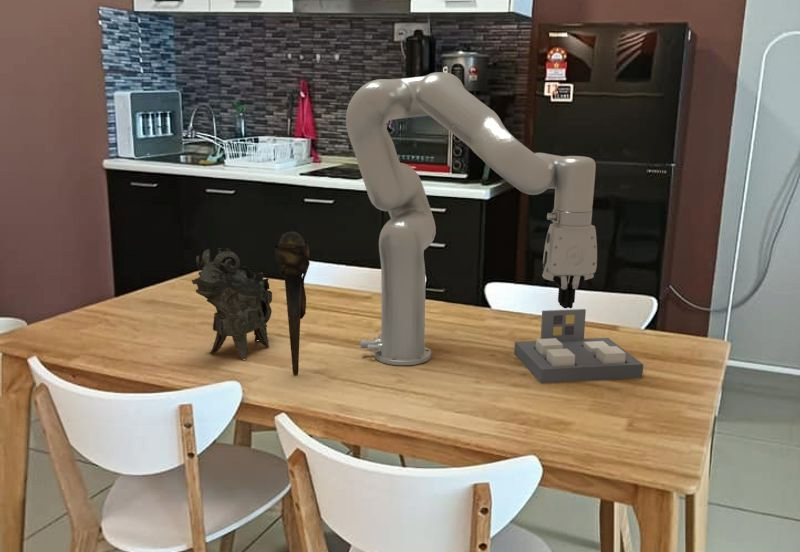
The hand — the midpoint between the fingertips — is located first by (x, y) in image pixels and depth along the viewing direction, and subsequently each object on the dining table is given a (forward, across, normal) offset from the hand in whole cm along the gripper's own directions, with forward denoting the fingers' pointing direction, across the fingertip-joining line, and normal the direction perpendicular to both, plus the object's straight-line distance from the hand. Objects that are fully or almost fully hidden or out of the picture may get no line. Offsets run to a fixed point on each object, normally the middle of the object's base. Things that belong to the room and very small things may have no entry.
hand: (565, 306), depth 171 cm
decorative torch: (+16, -55, +8) cm, 58 cm away
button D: (+13, +11, +6) cm, 18 cm away
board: (+15, +5, +4) cm, 16 cm away
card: (+12, +5, +13) cm, 18 cm away
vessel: (+16, -66, +26) cm, 73 cm away
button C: (+12, 0, +6) cm, 14 cm away
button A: (+12, -1, -1) cm, 12 cm away
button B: (+12, +10, -1) cm, 16 cm away
